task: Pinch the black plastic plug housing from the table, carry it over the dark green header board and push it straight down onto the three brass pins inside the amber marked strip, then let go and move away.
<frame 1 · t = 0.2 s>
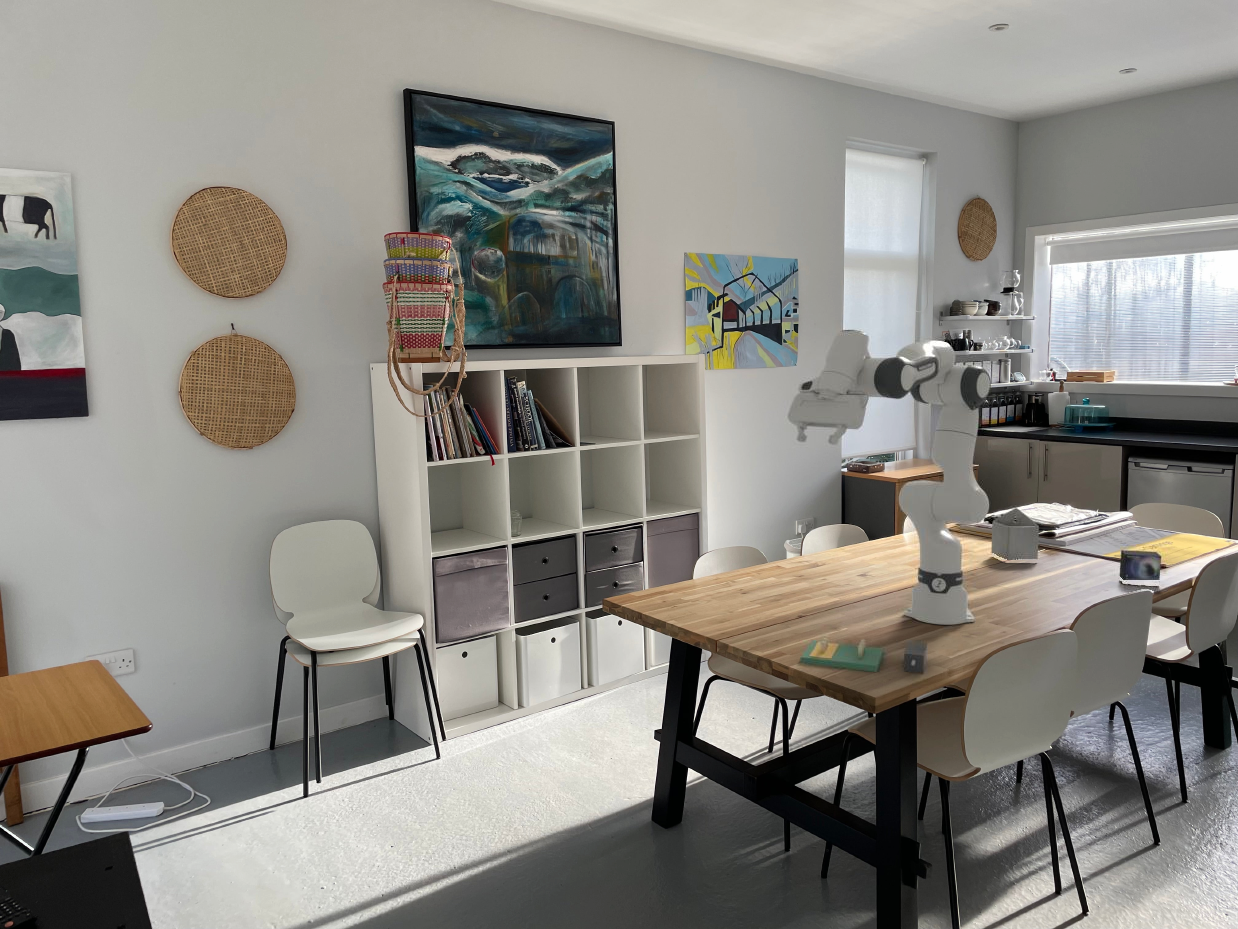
hand: (816, 442, 214), 54 cm above the table, tool tilted 30°, fingers open, 8 cm apart
plug housing: (915, 665, 216), on the table
small box: (1138, 584, 292), on the table
header board: (842, 658, 222), on the table
planter: (1010, 562, 326), on the table
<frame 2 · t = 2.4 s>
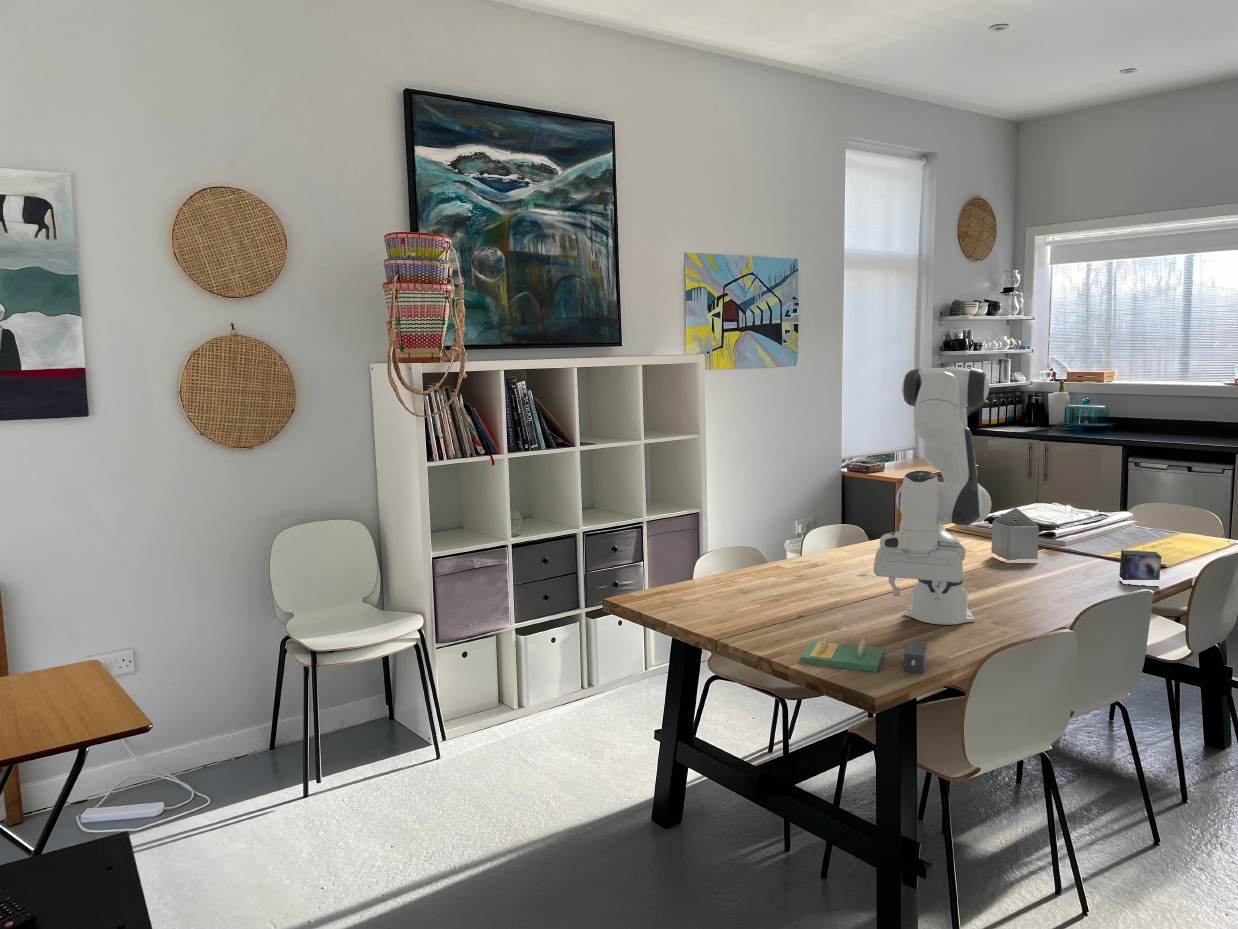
hand: (917, 597, 214), 17 cm above the table, tool pointing down, fingers open, 8 cm apart
nothing on the table moved.
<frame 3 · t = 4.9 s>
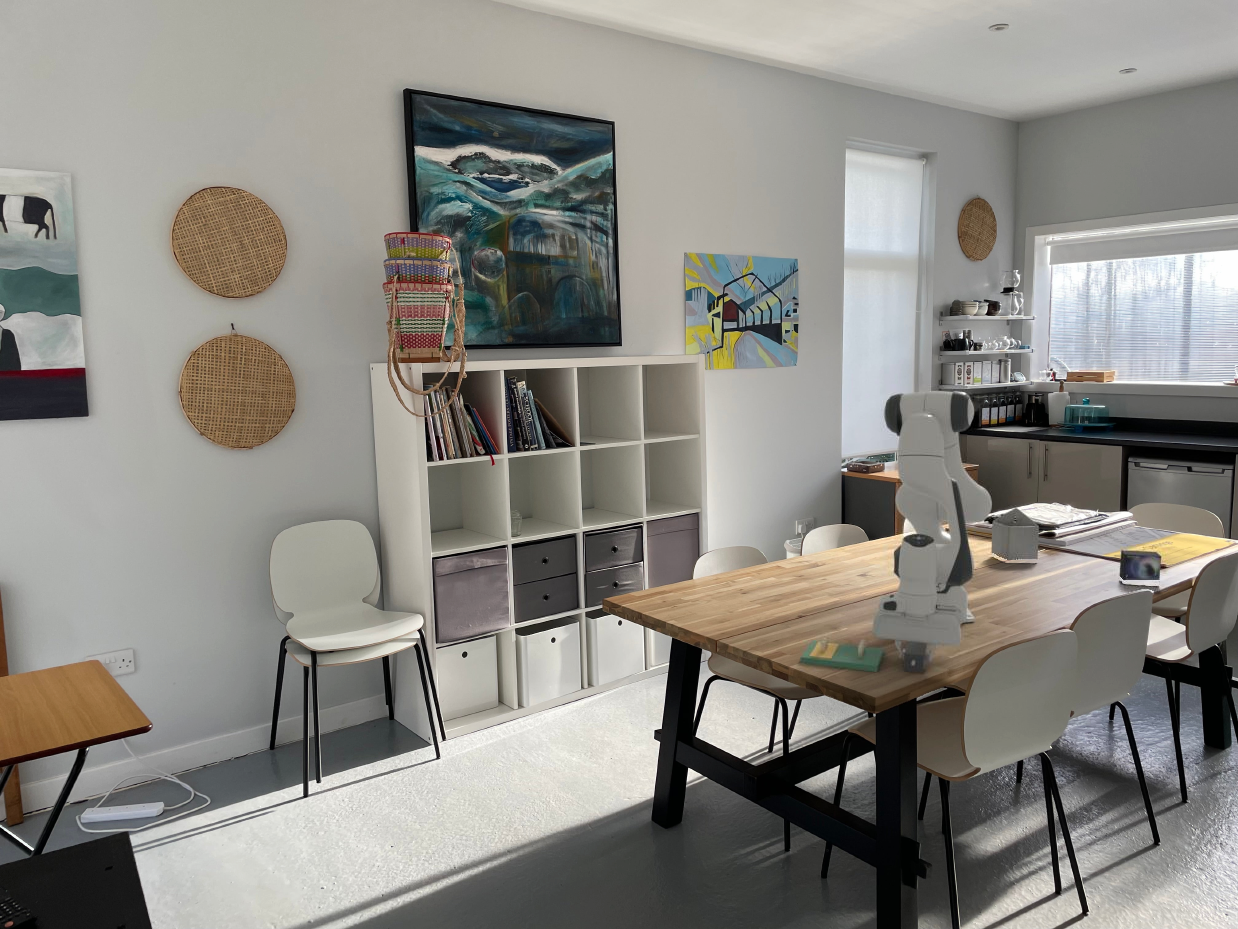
hand: (915, 659, 216), 2 cm above the table, tool pointing down, fingers closed on plug housing, 4 cm apart
plug housing: (915, 665, 216), on the table, touching gripper
everything else where it was.
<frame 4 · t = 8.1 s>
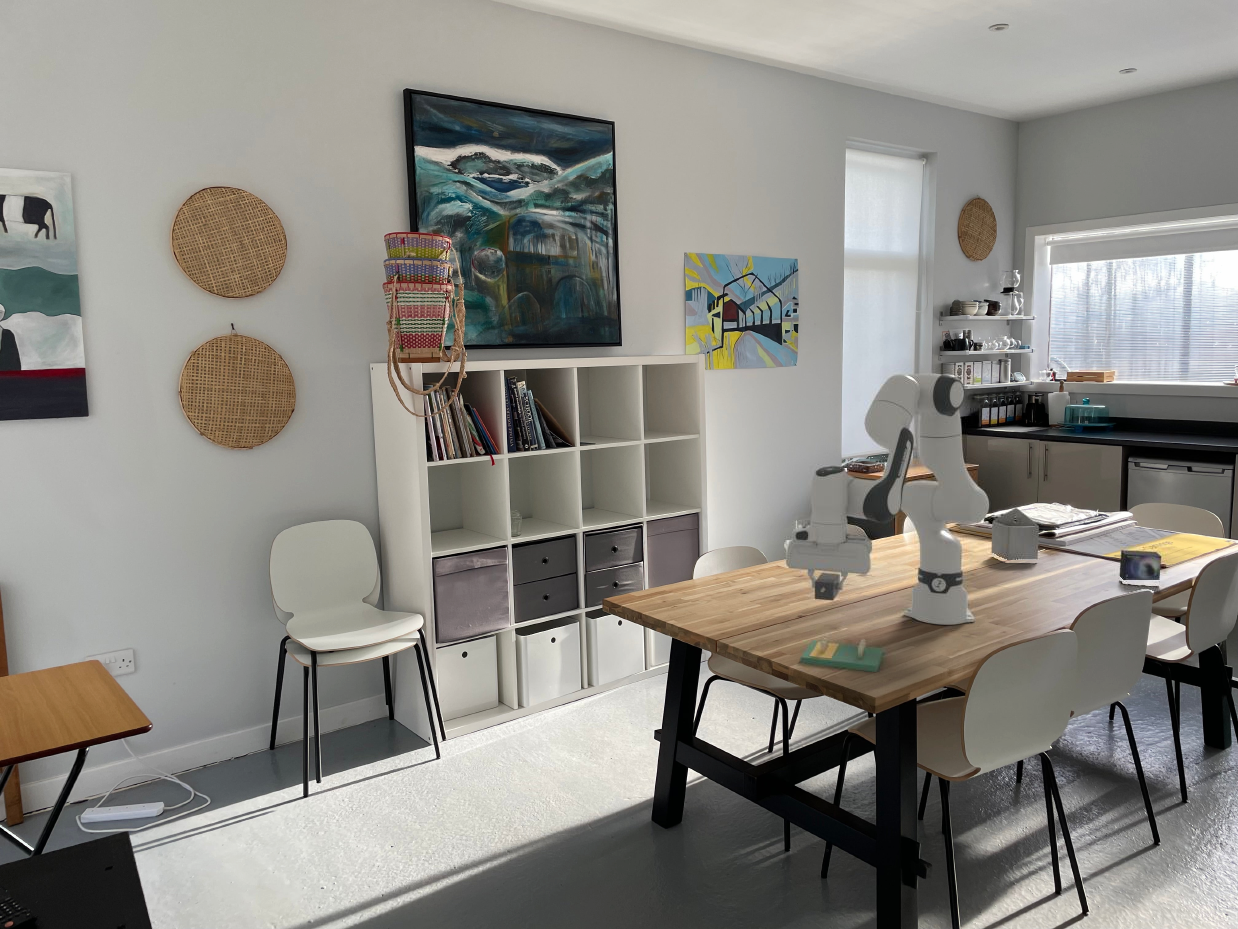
hand: (827, 588, 221), 17 cm above the table, tool pointing down, fingers closed on plug housing, 4 cm apart
plug housing: (827, 594, 221), point 16 cm above the table, touching gripper
everything else where it was.
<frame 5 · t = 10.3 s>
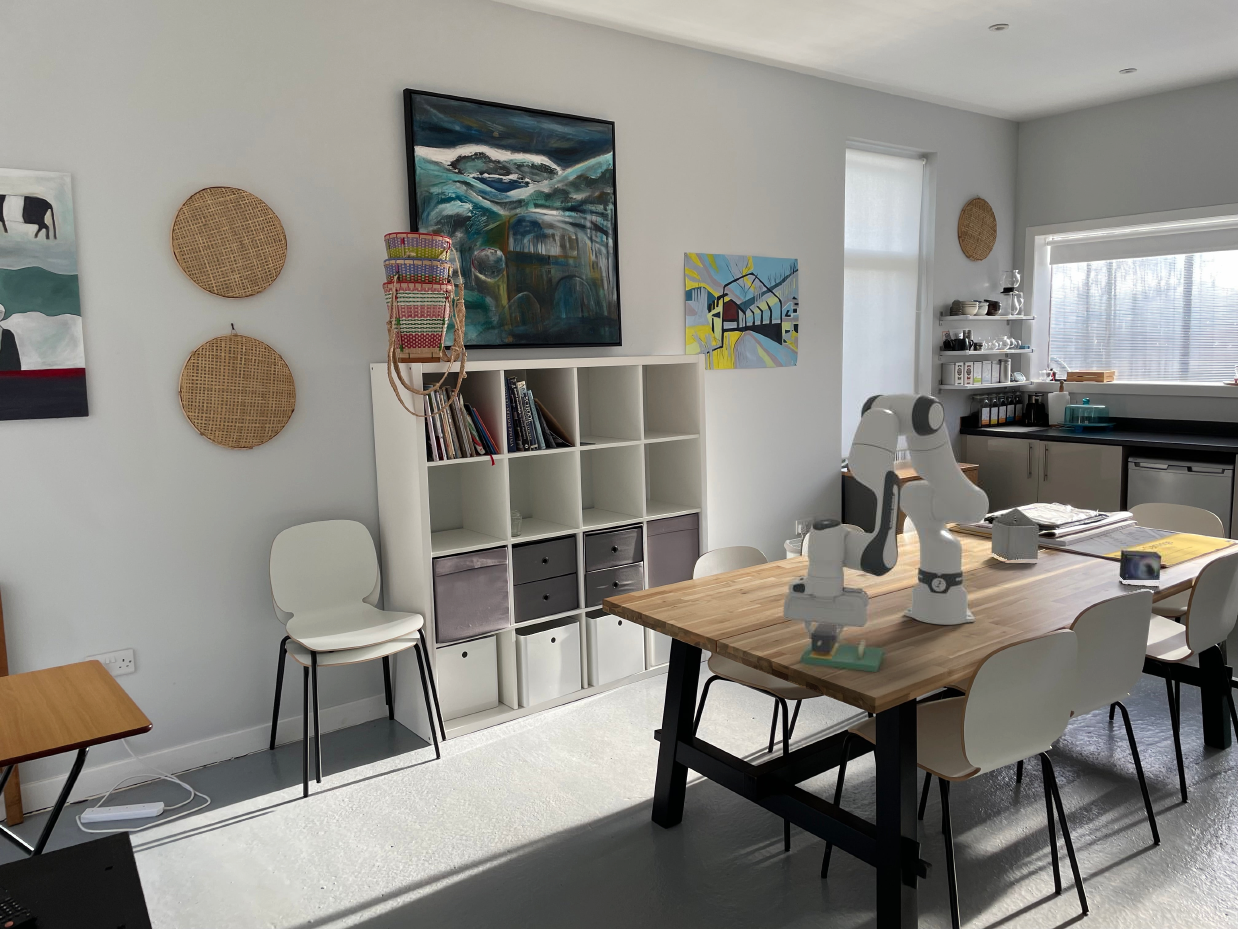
hand: (824, 640, 223), 4 cm above the table, tool pointing down, fingers closed on plug housing, 4 cm apart
plug housing: (824, 646, 223), point 3 cm above the table, touching gripper
everything else where it was.
when the fingers open (3 cm above the table, at t = 11.6 s): plug housing stays where it is, resting on header board.
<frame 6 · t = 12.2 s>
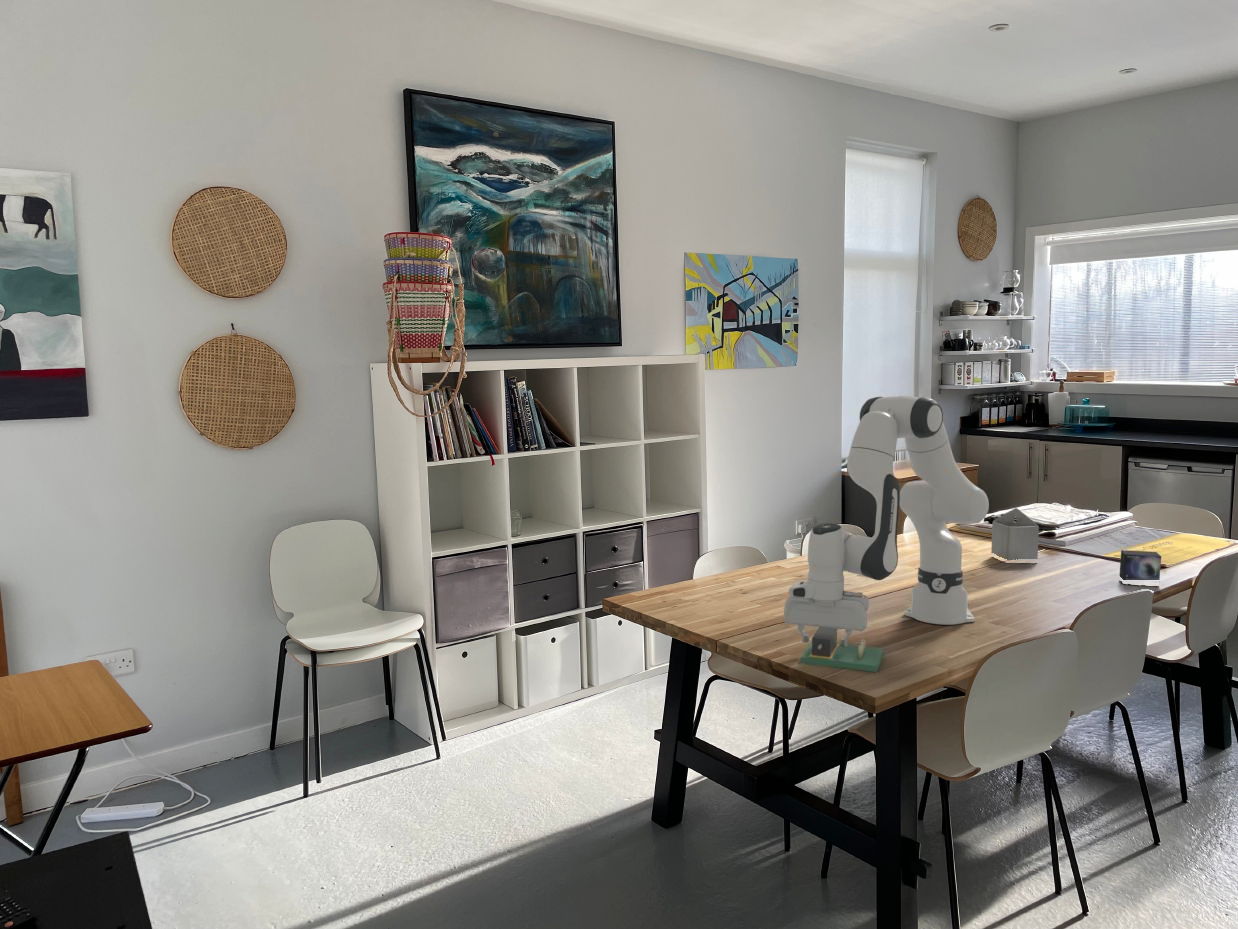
hand: (824, 644, 223), 3 cm above the table, tool pointing down, fingers open, 8 cm apart
plug housing: (824, 650, 223), point 2 cm above the table, touching header board
everything else where it was.
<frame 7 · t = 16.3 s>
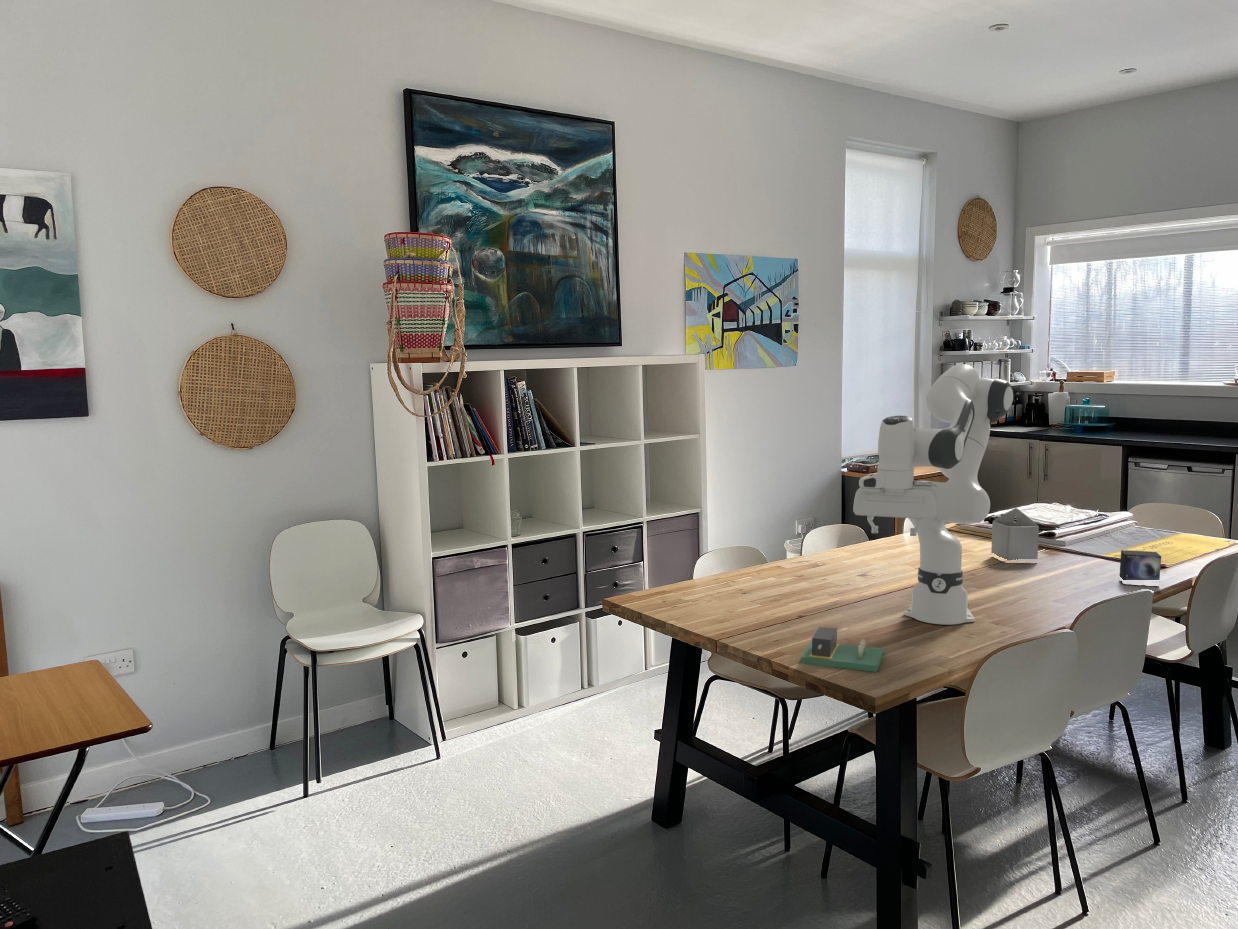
hand: (893, 534, 228), 29 cm above the table, tool pointing down, fingers open, 8 cm apart
nothing on the table moved.
at the end: plug housing 0.1 cm from the target spot on the header board, point 1.7 cm above the header board's base; plug housing tilted 0°; the gripper is holding nothing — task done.
